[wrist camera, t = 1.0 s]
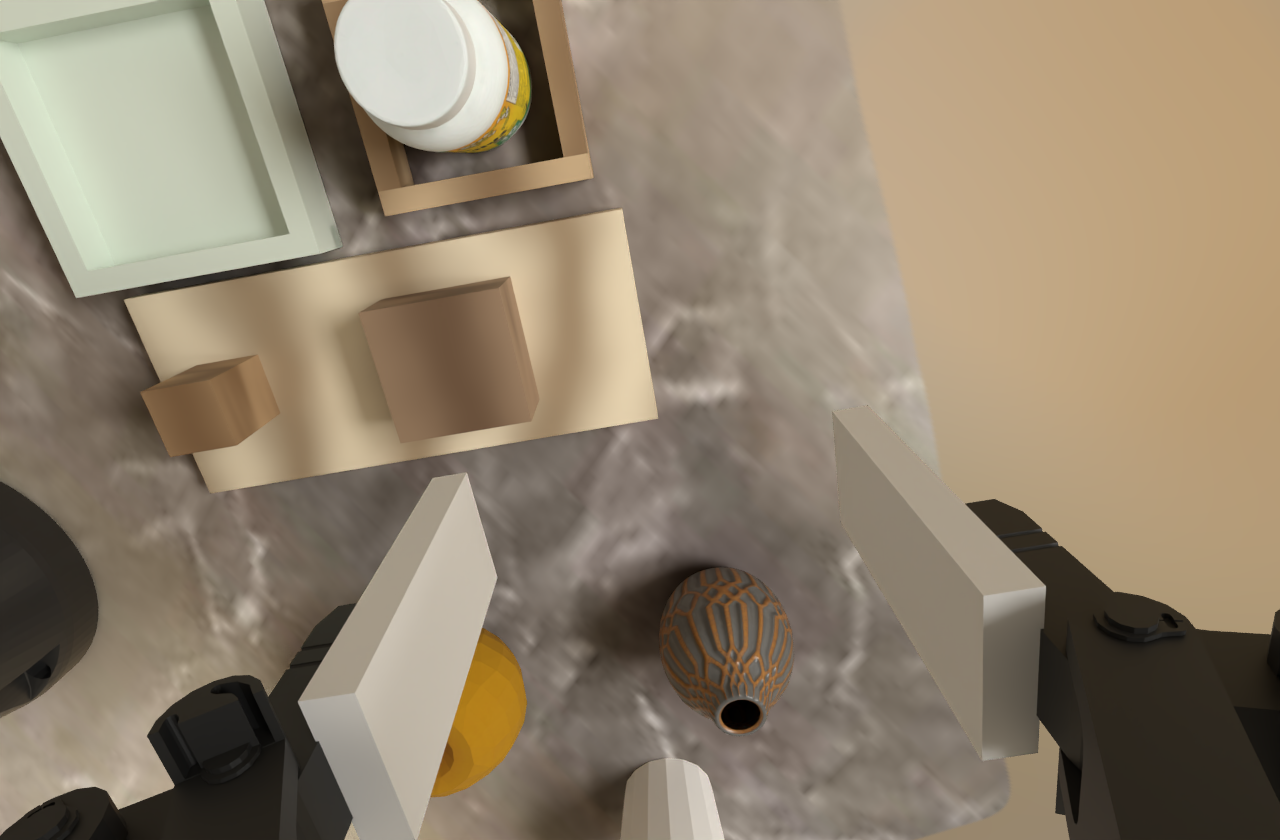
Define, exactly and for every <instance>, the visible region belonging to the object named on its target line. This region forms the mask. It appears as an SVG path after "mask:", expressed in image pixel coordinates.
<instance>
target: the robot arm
mask: <svg viewBox="0 0 1280 840" xmlns="http://www.w3.org/2000/svg"><path fill="white" fill-rule="evenodd" d="M832 417H833V430H834V443H835V456H836V470H837V483H838V496H839V509H840V522H841V524H842V526H843V527H844V529H845V531H846V532H847V534H848V536H849V538H850V539H851V541H852V543H853V544H854V546H855V548H856V549H857V551H858V553H859V554H860V556H861V558H862V559H863V561H864V563H865V565H866V566H867V568H868V570H869V571H870V573H871V575H872V576H873V578H874V580H875V581H876V583H877V585H878V586H879V588H880V590H881V592H882V593H883V595H884V597H885V598H886V600H887V602H888V603H889V605H890V607H891V608H892V610H893V612H894V613H895V615H896V617H897V618H898V620H899V622H900V624H901V625H902V627H903V629H904V630H905V632H906V634H907V635H908V637H909V639H910V640H911V642H912V644H913V645H914V647H915V649H916V651H917V652H918V654H919V656H920V657H921V659H922V661H923V662H924V664H925V666H926V667H927V669H928V671H929V672H930V674H931V676H932V678H933V679H934V681H935V683H936V684H937V686H938V688H939V689H940V691H941V693H942V694H943V696H944V698H945V699H946V701H947V703H948V705H949V706H950V708H951V710H952V711H953V713H954V715H955V716H956V718H957V720H958V721H959V723H960V725H961V726H962V728H963V730H964V731H965V733H966V735H967V737H968V738H969V740H970V742H971V743H972V745H973V747H974V748H975V750H976V752H977V753H978V755H979V757H980V758H981V760H982V761H985V760H992V759H999V758H1006V757H1013V756H1019V755H1026V754H1033V753H1038V741H1039V720H1040V721H1041V722H1042V723H1043V725H1044V726H1045V727H1046V729H1047V730H1048V732H1049V733H1050V734H1051V736H1052V737H1053V738H1054V740H1055V741H1056V742H1057V744H1058V745H1059V746H1060V749H1059V765H1058V781H1057V797H1056V811H1055V813H1057V814H1062V815H1066V821H1067V827H1068V833H1069V838H1070V840H1280V610H1278V611H1277V612H1275V617H1274V622H1273V628H1272V632H1271V635H1269V634H1253V633H1237V632H1220V631H1207V630H1199V629H1195V628H1194V626H1193V625H1192V624H1191V623H1190V621H1189V620H1188V619H1187V618H1186V617H1185V616H1183V615H1182V614H1180V613H1179V612H1177V611H1176V610H1174V609H1172V608H1171V607H1169V606H1168V605H1166V604H1163V603H1160V602H1158V601H1155V600H1152V599H1149V598H1146V597H1143V596H1139V595H1133V594H1127V593H1122V592H1113V591H1112V590H1111V589H1110V588H1109V587H1107V586H1106V585H1105V584H1104V583H1103V582H1102V581H1101V580H1099V579H1098V578H1097V577H1096V576H1095V575H1094V574H1093V573H1092V572H1090V571H1089V570H1088V569H1087V568H1086V567H1085V566H1084V565H1083V564H1081V563H1080V562H1079V561H1078V560H1077V559H1076V558H1075V557H1074V556H1072V555H1071V554H1070V553H1069V552H1068V551H1067V550H1066V549H1065V548H1063V547H1062V546H1058V542H1057V541H1056V540H1054V539H1053V538H1052V537H1051V536H1050V535H1049V534H1047V533H1046V532H1043V531H1042V528H1041V527H1040V526H1039V525H1037V524H1036V523H1035V522H1034V521H1033V520H1032V519H1031V518H1030V517H1028V516H1027V515H1026V514H1025V513H1024V512H1023V511H1020V510H1018V509H1016V508H1013V507H1011V506H1009V505H1007V504H1004V503H1002V502H1000V501H998V500H995V499H992V500H985V501H979V502H973V503H967V504H964V503H963V501H962V500H961V499H959V498H958V496H957V495H956V494H955V493H954V492H953V491H952V490H951V489H950V488H949V487H948V486H947V485H946V484H945V483H944V482H943V481H942V480H941V479H940V478H939V477H938V476H937V475H936V474H935V473H934V472H933V471H932V470H931V469H930V468H929V467H928V466H927V465H926V464H925V463H924V462H923V461H922V460H921V459H920V458H919V457H918V456H917V455H916V454H915V453H914V452H913V451H912V450H911V449H910V448H909V447H908V446H907V445H906V444H905V443H904V442H903V441H902V440H901V439H900V438H899V437H898V436H897V435H896V434H895V433H894V432H893V431H892V429H891V428H890V427H889V426H888V425H887V424H886V423H885V422H884V421H883V420H882V419H881V418H880V417H879V416H878V415H877V414H876V413H875V412H874V411H873V410H872V409H871V408H870V407H869V406H868V405H867V406H861V407H855V408H849V409H843V410H837V411H832ZM496 580H497V574H496V571H495V568H494V564H493V561H492V557H491V554H490V550H489V547H488V544H487V540H486V537H485V533H484V530H483V526H482V523H481V520H480V516H479V513H478V509H477V506H476V502H475V499H474V496H473V492H472V489H471V485H470V482H469V479H468V475H467V472H466V473H460V474H454V475H448V476H442V477H436V478H433V479H432V480H431V482H430V484H429V485H428V487H427V489H426V490H425V492H424V494H423V495H422V497H421V498H420V500H419V502H418V503H417V505H416V507H415V508H414V510H413V512H412V513H411V515H410V517H409V518H408V520H407V522H406V523H405V525H404V527H403V528H402V530H401V532H400V533H399V535H398V537H397V538H396V540H395V542H394V543H393V545H392V546H391V548H390V550H389V551H388V553H387V555H386V556H385V558H384V560H383V561H382V563H381V565H380V566H379V568H378V570H377V571H376V573H375V575H374V576H373V578H372V580H371V581H370V583H369V585H368V586H367V588H366V590H365V591H364V593H363V594H362V596H361V598H360V599H359V601H358V603H355V604H349V605H343V606H338V607H337V608H336V609H335V610H334V611H333V612H331V613H330V614H329V615H328V616H327V617H326V618H324V619H323V620H322V621H321V622H320V623H319V624H317V625H316V626H315V628H314V629H313V631H312V632H311V634H310V635H309V637H308V638H307V640H306V641H305V643H304V644H303V646H302V647H301V649H302V651H301V652H298V653H297V655H296V656H295V658H294V659H293V661H292V662H291V664H290V669H288V670H286V671H285V673H284V674H283V676H282V677H281V679H280V680H279V682H278V683H277V685H276V686H275V688H274V689H273V691H272V692H271V694H270V695H269V697H268V696H267V694H266V692H265V689H264V687H263V685H262V683H261V681H260V680H259V679H257V678H254V677H252V676H250V675H242V676H231V677H227V678H224V679H220V680H217V681H213V682H211V683H209V684H207V685H205V686H203V687H201V688H199V689H197V690H194V691H192V692H191V693H189V694H188V695H186V696H185V697H183V698H182V699H181V700H179V701H178V702H176V703H175V704H173V705H172V706H171V707H170V708H169V709H168V710H167V711H166V712H165V713H164V714H163V715H162V716H160V717H159V718H158V719H157V720H156V722H155V723H154V725H153V727H152V728H151V730H150V732H149V734H148V735H147V737H148V739H149V740H150V742H151V744H152V746H153V747H154V749H155V751H156V753H157V754H158V756H159V758H160V760H161V762H162V763H163V765H164V767H165V769H166V770H167V772H168V774H169V776H170V778H171V779H172V781H173V783H174V785H175V786H174V788H173V789H171V790H168V791H166V792H163V793H161V794H158V795H155V796H153V797H150V798H148V799H145V800H142V801H140V802H137V803H135V804H132V805H130V806H127V807H124V808H122V809H119V810H118V809H117V807H116V806H115V804H114V802H113V801H112V799H111V798H110V796H109V794H108V793H107V791H105V790H102V789H100V788H97V787H90V788H82V789H76V790H73V791H71V792H68V793H65V794H63V795H60V796H58V797H55V798H53V799H51V800H48V801H46V802H44V803H43V804H42V805H41V806H40V805H39V806H37V807H36V808H34V809H32V810H31V811H29V812H28V813H27V814H25V815H24V816H23V817H22V818H21V819H20V820H18V821H17V822H16V823H14V824H13V825H12V826H11V827H9V828H8V829H7V830H5V832H4V833H3V834H2V835H1V836H0V840H344V839H345V836H346V834H347V831H348V829H349V826H350V824H351V822H352V823H353V826H354V828H355V830H356V832H357V835H358V837H359V839H360V840H417V838H418V835H419V832H420V829H421V825H422V822H423V819H424V816H425V812H426V809H427V806H428V802H429V799H430V796H431V793H432V789H433V786H434V783H435V780H436V776H437V773H438V770H439V767H440V763H441V760H442V757H443V753H444V750H445V747H446V744H447V740H448V737H449V734H450V731H451V727H452V724H453V721H454V718H455V714H456V711H457V708H458V704H459V701H460V698H461V695H462V691H463V688H464V685H465V682H466V678H467V675H468V672H469V669H470V665H471V662H472V659H473V655H474V652H475V649H476V646H477V642H478V639H479V636H480V633H481V629H482V626H483V623H484V620H485V616H486V613H487V610H488V606H489V603H490V600H491V597H492V593H493V590H494V587H495V584H496ZM97 622H98V601H97V594H96V590H95V586H94V583H93V580H92V577H91V574H90V572H89V569H88V567H87V565H86V563H85V561H84V560H83V558H82V556H81V554H80V553H79V551H78V550H77V548H76V547H75V545H74V544H73V542H72V541H71V540H70V539H69V537H68V536H67V535H66V534H65V532H64V531H63V530H62V529H61V528H60V527H59V526H58V525H57V524H56V523H55V522H54V521H53V520H52V519H51V518H50V517H49V516H48V515H47V514H46V513H45V512H44V511H43V510H41V509H40V508H39V507H38V506H36V505H35V504H34V503H33V502H31V501H30V500H29V499H27V498H26V497H24V496H23V495H21V494H20V493H18V492H17V491H15V490H14V489H12V488H10V487H9V486H7V485H5V484H3V483H2V482H0V718H1V717H3V716H5V715H7V714H9V713H11V712H13V711H15V710H17V709H19V708H21V707H23V706H25V705H27V704H29V703H30V702H32V701H33V700H35V699H36V698H38V697H39V696H41V695H42V694H44V693H45V692H46V691H47V690H49V689H50V688H51V687H52V686H53V685H54V684H55V683H56V682H57V681H59V680H60V679H61V678H62V677H63V676H64V675H65V674H66V673H67V672H68V671H69V670H71V669H72V668H73V667H74V666H75V665H76V664H77V663H78V662H79V661H80V660H81V658H82V657H83V656H84V655H85V653H86V652H87V650H88V649H89V647H90V645H91V643H92V641H93V638H94V635H95V632H96V628H97Z"/></svg>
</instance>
